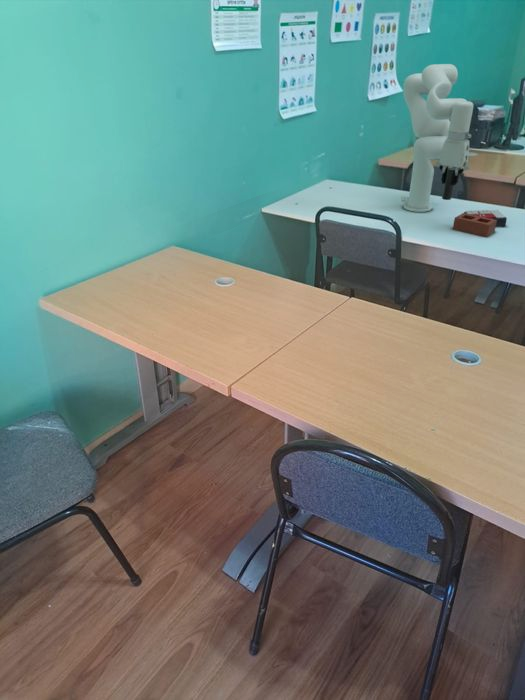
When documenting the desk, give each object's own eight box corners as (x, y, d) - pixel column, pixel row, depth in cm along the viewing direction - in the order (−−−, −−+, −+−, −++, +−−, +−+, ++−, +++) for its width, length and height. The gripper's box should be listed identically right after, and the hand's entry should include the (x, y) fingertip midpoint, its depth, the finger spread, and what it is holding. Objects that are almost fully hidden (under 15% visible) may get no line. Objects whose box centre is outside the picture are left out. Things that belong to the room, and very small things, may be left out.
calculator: (464, 210, 228) (499, 208, 226) (462, 219, 230) (497, 218, 228) (470, 217, 218) (507, 216, 217) (469, 227, 220) (505, 226, 219)
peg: (440, 198, 214) (445, 169, 208) (444, 197, 216) (449, 167, 210) (448, 200, 212) (454, 170, 205) (452, 198, 214) (457, 168, 208)
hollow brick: (452, 229, 217) (454, 217, 215) (460, 224, 222) (463, 213, 220) (486, 237, 209) (489, 225, 206) (494, 231, 214) (497, 220, 211)
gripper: (482, 137, 199) (472, 185, 208) (441, 132, 208) (434, 179, 218) (474, 140, 194) (464, 189, 204) (433, 135, 203) (426, 182, 213)
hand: (449, 183), depth 211 cm, fingers closed on peg, 3 cm apart
